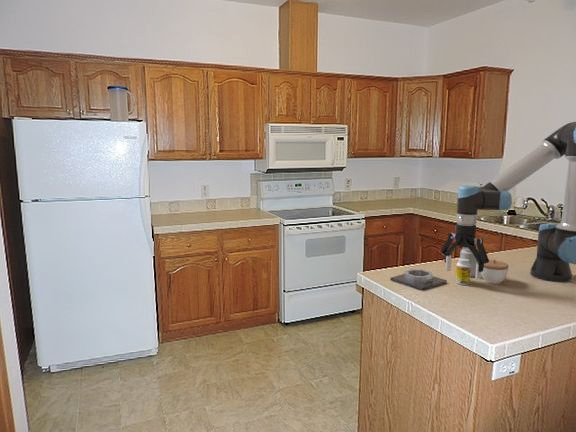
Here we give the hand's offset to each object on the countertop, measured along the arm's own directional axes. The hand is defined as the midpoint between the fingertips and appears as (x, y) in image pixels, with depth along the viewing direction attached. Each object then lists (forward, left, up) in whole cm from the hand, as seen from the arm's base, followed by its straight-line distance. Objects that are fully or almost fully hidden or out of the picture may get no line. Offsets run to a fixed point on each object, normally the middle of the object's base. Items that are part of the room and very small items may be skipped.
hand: (462, 274), depth 173 cm
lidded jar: (-6, -12, -4) cm, 14 cm away
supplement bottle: (0, 0, -4) cm, 4 cm away
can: (+5, -12, -4) cm, 14 cm away
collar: (+12, +13, -4) cm, 18 cm away
